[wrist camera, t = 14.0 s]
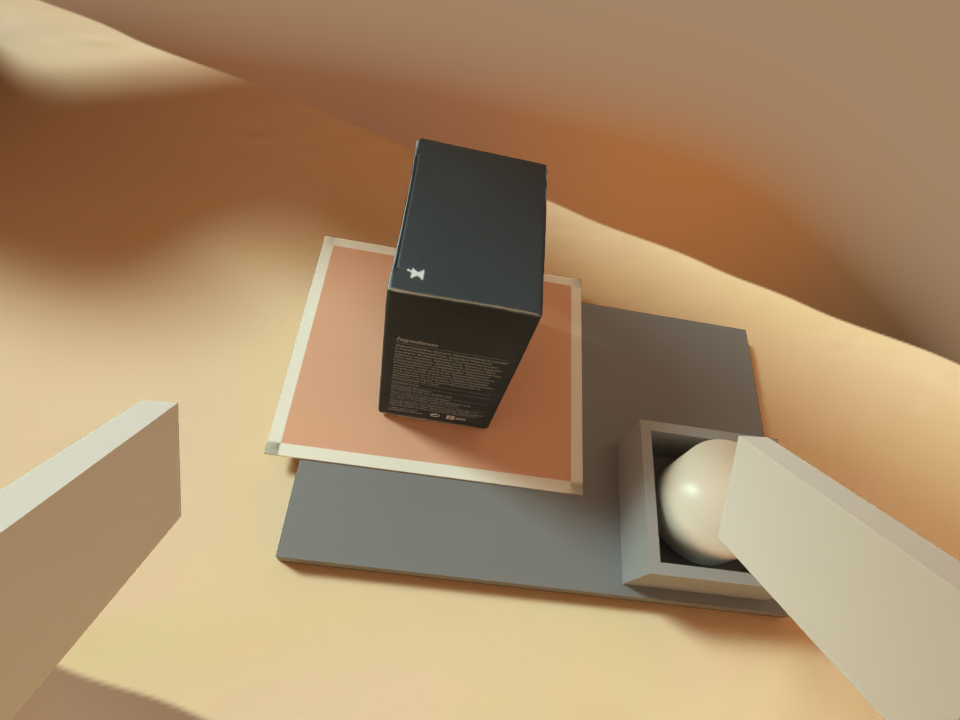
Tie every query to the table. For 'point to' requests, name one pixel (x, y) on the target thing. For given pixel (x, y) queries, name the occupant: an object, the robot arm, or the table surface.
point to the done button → (696, 502)
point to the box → (463, 284)
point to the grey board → (510, 448)
